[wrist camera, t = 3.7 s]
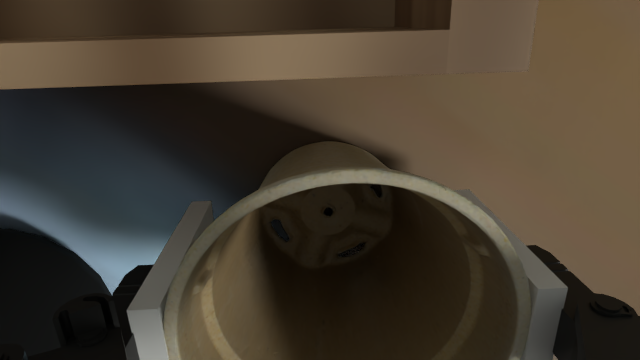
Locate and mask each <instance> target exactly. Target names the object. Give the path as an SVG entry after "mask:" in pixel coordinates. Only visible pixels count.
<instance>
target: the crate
mask: <svg viewBox="0 0 640 360" xmlns="http://www.w3.org/2000/svg"><path fill="white" fill-rule="evenodd" d="M538 1H539V0H0V89H27V88H56V87H85V86H114V85H143V84H172V83H202V82H231V81H260V80H289V79H318V78H347V77H376V76H405V75H434V74H463V73H492V72H522V71H528V70H529V63H530V56H531V49H532V42H533V35H534V29H535V22H536V15H537V8H538Z"/></svg>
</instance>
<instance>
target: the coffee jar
mask: <svg viewBox="0 0 640 360" xmlns="http://www.w3.org/2000/svg"><path fill="white" fill-rule="evenodd" d="M92 293H104V294H107V295H110V296H112V295H111V293H110V292H109V290H108V288H107V287H106V285H105V283H104V282H103V280H102V278H101V277H100V275H99V274H98V273H96V272H95V271H94V270H93V269H92V268H91V267H90V266H89V265H88V264H87V263H86V262H84V261H83V260H82V259H81V258H80V257H79V256H78V255H77V254H75V253H74V252H72V251H70V250H68V249H66V248H64V247H62V246H60V245H58V244H57V243H55V242H53V241H51V240H49V239H47V238H45V237H41V236H37V235H33V234H29V233H25V232H21V231H17V230H13V229H2V228H0V345H1V344H10V343H14V344H18V345H21V346H22V347H23V349H24V350H25V353H26V355H27V357H28V356H31V355H35V354H39V353H43V352H47V351H50V350H54V349H57V348H60V347H61V346H60V343H59V339H58V336H57V333H56V330H55V327H54V324H53V320H52V318H53V316H54V313H55V312H56V311H57V310H58V309H59V308H60V307H61V306H62V305H64V304H65V303H67V302H68V301H70V300H72V299H75V298H77V297H80V296H82V295H87V294H92Z"/></svg>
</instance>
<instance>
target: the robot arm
mask: <svg viewBox="0 0 640 360" xmlns="http://www.w3.org/2000/svg"><path fill="white" fill-rule="evenodd" d="M454 191H456V192H457V193H459V194H460V195H462V196H464V197H465V198H467V199H469V200H470V201H471V202H473V203H474V204H475V205H477V206H478V207H479V208H480V209H481V210H483V211H484V212H485V213H486V214H488V215H489V216H490V217H491V218H492V219H493V220H494V222H495V223H496V224H497V225H498V226H499V227H500V229H501V230H502V231H503V232H504V234H505V235H506V236H507V238H508V239H509V241H510V243H511V244H512V246H513V247H514V248H515V251H516V253H517V255H518V256H519V258H520V260H521V262H522V264H523V268H524V270H525V274H526V276H527V279H528V282H529V291H530V296H531V307H532V309H531V313H532V314H531V320H530V327H529V332H528V337H527V341H526V347H525V350H524V352H523V354H522V357H521V359H520V360H552V359H553V354H554V355H555V356H556V357H557V359H558V360H640V316H638V315H637V313H636V312H635V310H634V309H633V308H632V307H630V306H629V305H628V304H626V303H625V302H623V301H621V300H619V299H616V298H614V297H611V296H607V295H604V294H596V293H593V292H592V291H591V290H590V289H589V288H588V287H587V286H586V285H584V284H583V283H582V282H581V281H580V280H579V279H578V278H577V277H576V276H575V275H574V274H573V273H571V272H570V271H568V269H567V268H566V267H565V266H564V265H563V264H560V261H559V260H557V259H556V258H555V257H554V256H553V255H552V254H551V253H550V252H548V251H546V250H544V249H542V248H540V247H538V246H536V245H529V246H526V245H525V244H524V243H523V242H522V241H521V240H520V239H519V238H518V237H517V236H516V235H515V234H514V233H513V232H512V231H511V230H509V229H508V228H507V227H506V226H505V225H504V224H503V223H502V222H501V221H500V220H499V219H498V218H497V217H496V216H495V215H494V214H493V213H492V212H491V211H490V210H489V209H488V208H487V207H486V206H485V205H484V204H483V203H482V202H481V201H480V200H479V199H478V198H477V197H476V196H475V195H474V194H473V193H472V192H471V191H470V190H469V189H468V190H454ZM212 222H214V218H213V210H212V203H211V201H193V202H191V204H190V205H189V207H188V209H187V210H186V212H185V214H184V215H183V217H182V219H181V220H180V222H179V224H178V225H177V227H176V229H175V230H174V232H173V234H172V235H171V237H170V239H169V240H168V242H167V244H166V245H165V247H164V249H163V250H162V252H161V254H160V255H159V257H158V259H157V260H156V262H155V264H154V265H138V266H137V267H135V268H134V269H133V270H131V271H130V272H129V273H127V274H126V275H125V276H124V278H123V279H122V281H121V282H120V284H119V287H117V288H116V290H115V291H114V292H113V296H110V295H107V294H104V293H92V294H87V295H82V296H80V297H77V298H75V299H72V300H70V301H68V302H67V303H65V304H64V305H62V306H61V307H60V308H59V309H58V310H57V311H56V312H55V313H54V316H53V318H52V320H53V324H54V327H55V330H56V333H57V336H58V339H59V343H60V346H61V347H60V348H57V349H54V350H50V351H47V352H43V353H39V354H35V355H31V356H28V357H27V355H26V353H25V350H24V349H23V347H22V346H21V345H18V344H14V343H10V344H1V345H0V360H169V358H168V352H167V346H166V342H165V337H164V331H163V319H164V311H165V305H166V300H167V297H168V293H169V289H170V286H171V283H172V280H173V278H174V276H175V274H176V272H177V270H178V268H179V266H180V263H181V262H182V260H183V258H184V256H185V255H186V253H187V252H188V250H189V249H190V247H191V246H192V245H193V243H194V242H195V241H196V240H197V239H198V238H199V236H200V235H201V234H202V233H203V231H204V230H205V229H206V228H207V227H208V226H209V225H210V224H211V223H212Z"/></svg>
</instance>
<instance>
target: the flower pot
mask: <svg viewBox="0 0 640 360" xmlns="http://www.w3.org/2000/svg"><path fill="white" fill-rule="evenodd" d="M371 184H379V185H380V187H381V190H382V194H381V196H380V197H378V196H377V194H376V192H375V190H374V189H373V188H370V187H372V186H371ZM327 207H328V208H331V209H332V210H333V213H332V214H331V215H330V216H327V215H325V214H324V211H325V209H326V208H327ZM274 219H275V220H280V222H281V224H282V226H283V229H284V231H285V232H286V233H287V235H288V236H289V240H288V241H285V240H284V239H283V238H282V237H280V236H279V235H278V233H277V232H276V231H275V229H274V228H273V226H272V224H271V222H272V221H273V220H274ZM360 243H363V244H364V247H363V248H362V249H361V250H360V251H359V252H358V253H356V254H353V255H352V256H349V257H340V256H339V254H340V253H342V252H344V251H347V250H349V249H351V248H353V247H356V246H357V245H359V244H360ZM531 309H532V307H531V296H530V291H529V282H528V279H527V276H526V274H525V270H524V268H523V264H522V262H521V260H520V258H519V256H518V255H517V253H516V251H515V248H514V247H513V246H512V244H511V243H510V241H509V239H508V238H507V236H506V235H505V234H504V232H503V231H502V230H501V229H500V227H499V226H498V225H497V224H496V223H495V222H494V220H493V219H492V218H491V217H490V216H489V215H488V214H486V213H485V212H484V211H483V210H481V209H480V208H479V207H478V206H477V205H475V204H474V203H473V202H471V201H470V200H469V199H467V198H465V197H464V196H462V195H460V194H459V193H457V192H456V191H454V190H452V189H450V188H448V187H446V186H444V185H442V184H440V183H437V182H435V181H433V180H430V179H427V178H424V177H421V176H418V175H414V174H411V173H407V172H402V171H397V170H392V169H389V168H388V167H386V166H385V165H384V164H383V163H381V162H380V161H379V160H378V159H377V158H376V157H375V156H373V155H372V154H371V153H369V152H367V151H365V150H363V149H361V148H359V147H356V146H354V145H350V144H346V143H341V142H333V141H325V142H318V143H312V144H308V145H305V146H302V147H299V148H297V149H295V150H293V151H291V152H290V153H288V154H287V155H286V156H284V157H283V158H282V159H280V160H279V161H278V162H277V163H276V164H275V165H274V166H273V167H272V168H271V170H270V171H269V172H268V174H267V175H266V177H265V179H264V180H263V182H262V184H261V186H260V188H259V189H258V190H257V191H255V192H254V193H252V194H250V195H248V196H246V197H245V198H243V199H241V200H240V201H238V202H237V203H235V204H234V205H233V206H231V207H230V208H228V209H227V210H226V211H225V212H224V213H223V214H221V215H220V216H219V217H218V218H217V219H216V220H215V221H214V222H212V223H211V224H210V225H209V226H208V227H207V228H206V229H205V230H204V231H203V233H202V234H201V235H200V236H199V238H198V239H197V240H196V241H195V242H194V243H193V245H192V246H191V247H190V249H189V250H188V252H187V253H186V255H185V256H184V258H183V260H182V262H181V263H180V266H179V268H178V270H177V272H176V274H175V276H174V278H173V280H172V283H171V286H170V289H169V293H168V297H167V300H166V305H165V311H164V319H163V331H164V337H165V342H166V346H167V352H168V358H169V360H520V359H521V357H522V354H523V352H524V350H525V347H526V341H527V337H528V332H529V327H530V320H531V314H532V313H531Z"/></svg>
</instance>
